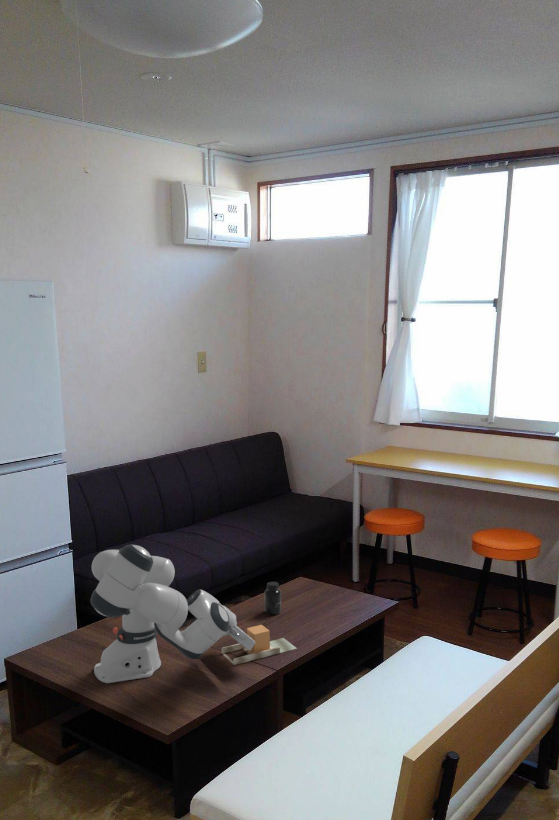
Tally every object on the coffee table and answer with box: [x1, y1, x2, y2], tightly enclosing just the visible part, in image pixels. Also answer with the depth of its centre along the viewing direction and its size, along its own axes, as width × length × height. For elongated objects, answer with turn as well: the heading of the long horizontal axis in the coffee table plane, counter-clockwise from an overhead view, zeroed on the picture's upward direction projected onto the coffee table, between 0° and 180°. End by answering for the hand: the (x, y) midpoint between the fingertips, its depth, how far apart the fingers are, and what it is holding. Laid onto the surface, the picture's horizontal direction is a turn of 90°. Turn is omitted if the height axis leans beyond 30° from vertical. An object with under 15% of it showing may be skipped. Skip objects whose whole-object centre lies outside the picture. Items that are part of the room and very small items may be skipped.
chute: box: [221, 637, 298, 666], centre depth 250 cm, size 25×10×4 cm, turn 119°
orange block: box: [246, 624, 271, 654], centre depth 250 cm, size 6×6×8 cm
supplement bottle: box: [264, 581, 282, 616], centre depth 288 cm, size 7×7×12 cm
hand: (249, 643), depth 248 cm, fingers closed, pressing on orange block
